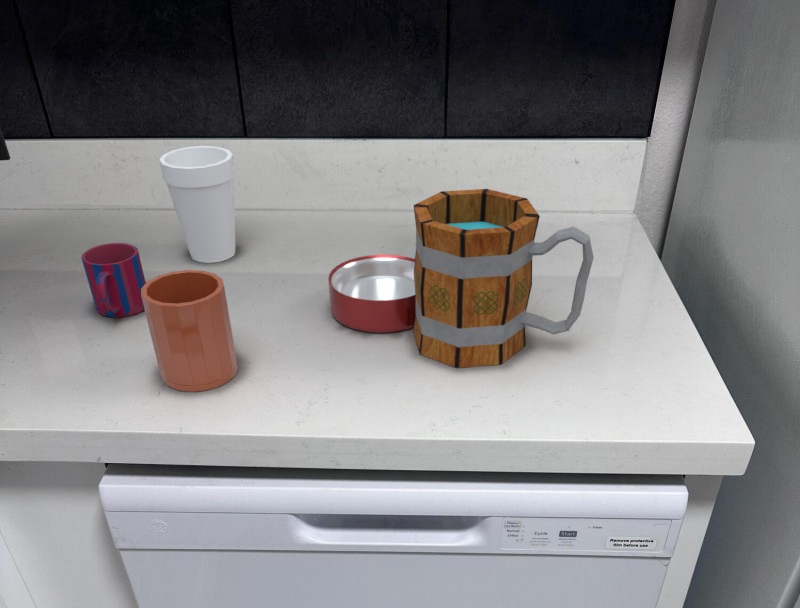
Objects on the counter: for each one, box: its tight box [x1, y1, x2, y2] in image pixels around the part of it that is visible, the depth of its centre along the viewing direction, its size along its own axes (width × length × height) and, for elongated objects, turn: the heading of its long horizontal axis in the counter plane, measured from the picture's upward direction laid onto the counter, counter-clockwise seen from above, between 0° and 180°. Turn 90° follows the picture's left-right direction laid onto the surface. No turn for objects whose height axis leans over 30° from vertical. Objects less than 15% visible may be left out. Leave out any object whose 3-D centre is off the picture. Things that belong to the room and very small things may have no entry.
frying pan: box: [327, 243, 416, 334], centre depth 103 cm, size 32×13×6 cm, turn 163°
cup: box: [81, 242, 147, 318], centre depth 97 cm, size 7×10×7 cm
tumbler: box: [141, 269, 239, 393], centre depth 85 cm, size 8×8×10 cm
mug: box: [412, 188, 595, 369], centre depth 87 cm, size 20×14×15 cm
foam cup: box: [159, 145, 236, 264], centre depth 108 cm, size 10×9×13 cm
